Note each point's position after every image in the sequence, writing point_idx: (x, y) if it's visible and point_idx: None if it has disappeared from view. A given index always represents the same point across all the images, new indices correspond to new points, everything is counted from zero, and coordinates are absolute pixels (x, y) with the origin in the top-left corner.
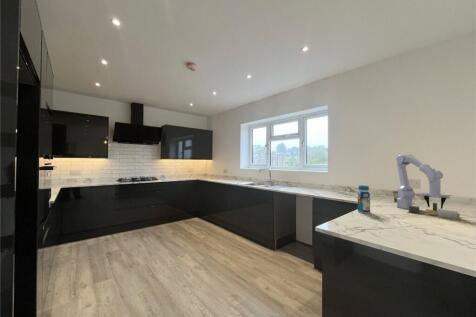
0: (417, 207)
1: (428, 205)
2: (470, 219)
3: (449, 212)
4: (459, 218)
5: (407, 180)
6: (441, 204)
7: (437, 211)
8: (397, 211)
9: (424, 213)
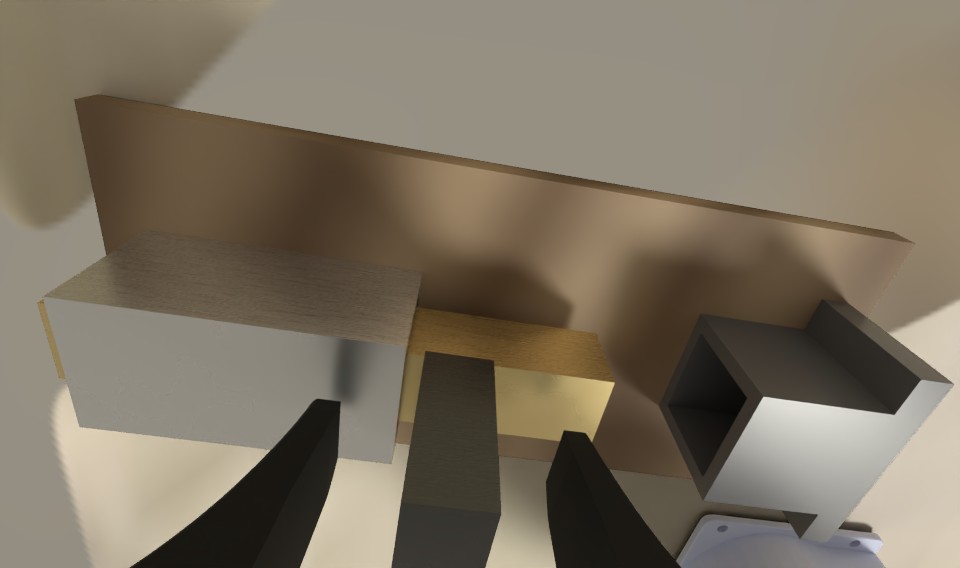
0: (778, 397)
1: (587, 457)
2: (63, 432)
3: (200, 302)
4: None
5: None
6: (284, 480)
7: (416, 347)
8: (956, 379)
9: None
